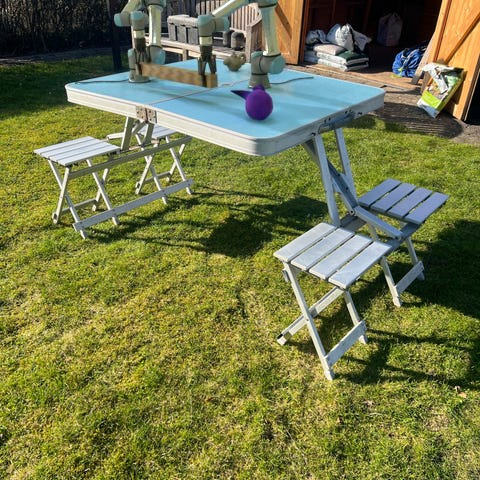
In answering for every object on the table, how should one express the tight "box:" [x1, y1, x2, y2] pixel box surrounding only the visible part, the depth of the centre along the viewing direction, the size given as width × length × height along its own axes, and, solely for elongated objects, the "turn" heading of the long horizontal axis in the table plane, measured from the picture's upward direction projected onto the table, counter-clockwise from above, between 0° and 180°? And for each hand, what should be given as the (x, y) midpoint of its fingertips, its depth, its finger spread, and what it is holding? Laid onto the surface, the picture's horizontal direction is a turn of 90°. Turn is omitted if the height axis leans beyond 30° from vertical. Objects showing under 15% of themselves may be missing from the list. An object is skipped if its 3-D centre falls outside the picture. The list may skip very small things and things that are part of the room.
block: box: [135, 62, 219, 90], centre depth 289 cm, size 74×6×8 cm, turn 47°
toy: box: [230, 85, 274, 121], centre depth 242 cm, size 16×18×27 cm
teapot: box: [222, 51, 247, 72], centre depth 365 cm, size 21×12×15 cm, turn 120°
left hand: (144, 73), depth 309 cm, fingers closed on block, 6 cm apart
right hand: (208, 85), depth 271 cm, fingers closed on block, 6 cm apart
